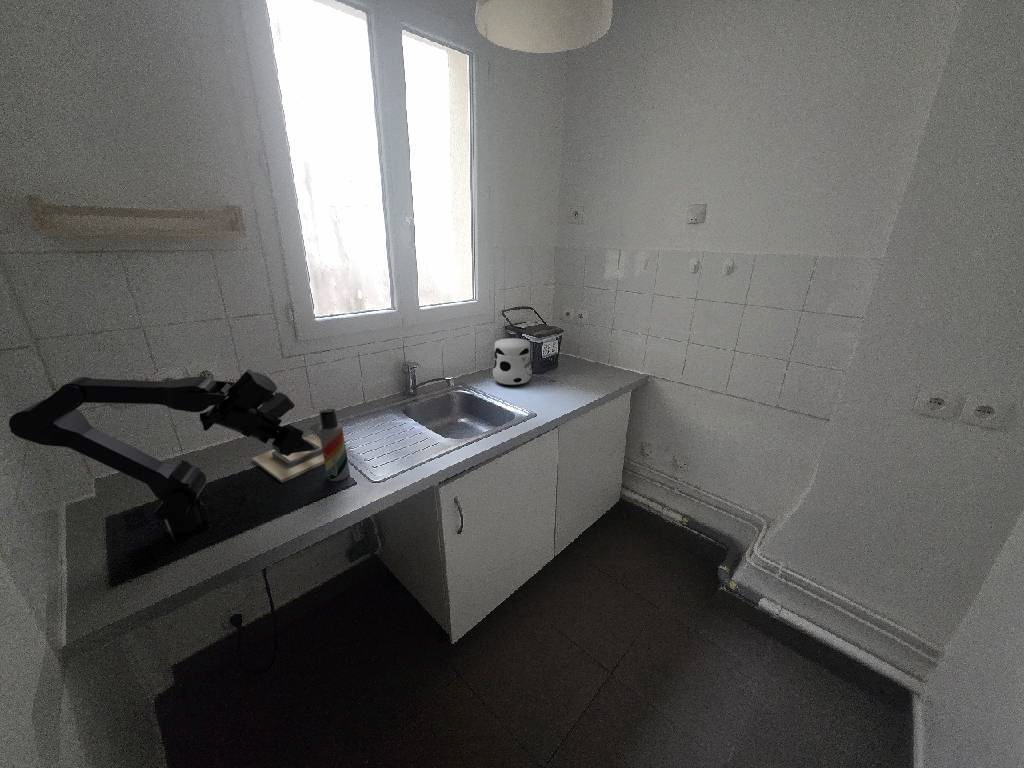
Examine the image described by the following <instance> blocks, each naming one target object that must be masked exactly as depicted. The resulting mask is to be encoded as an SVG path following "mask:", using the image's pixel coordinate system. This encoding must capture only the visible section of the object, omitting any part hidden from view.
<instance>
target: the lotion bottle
mask: <svg viewBox="0 0 1024 768" xmlns="http://www.w3.org/2000/svg"><path fill="white" fill-rule="evenodd" d="M336 411H337V410H336V409H335V408H325V409H321V410H320V411H319V418H320V424H321V425H320V426H319V427H318V436H319V439H320V440H321V446H322V451H323V456H324V461H325V463H324V466H325V470H326V475H327V478H328V480H329V481H331V482H339V480H340V481H343V480H346V477H347V478H348V477H349V476H350V473H351V472H350V465H349V458H348V453H347V448H346V447H347V446H346V441H345V435H344V429H343V425H342V424H341V423H340V422H338V416H337V413H336Z"/></svg>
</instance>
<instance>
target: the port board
mask: <svg viewBox="0 0 1024 768" xmlns="http://www.w3.org/2000/svg"><path fill="white" fill-rule="evenodd" d="M302 438H303V439H304V440H306V441H307V442H308V443H310V444H311V445H313V446H314V448H313V449H312V450H311V451H304V452H297V453H291V454H290V455H289V456H286V455H283V454H280V453H279V452H277V451H275V450H274V449H272V450H269V451H266V452H264V453H261V454H259V455H257V456H253V457H251V459H252V460H251V461H252V462H253V463H255V464H256V465H258V466H259V467H260V468H262V469H263V470H264V471H265V472H267V473H268V474H270V475H271V476H273V477H274V478H275V479H277V480H278V481H279V482H281V483H282V484H283V483H286V482H287V481H290V480H292V479H294V478H296V477H299V476H301V475H302V474H305V473H308V472H309V471H311V470H313V469H315V468H319V466H322V465H325V461H324V456H323V451H322V446H321V440H320V437H317V436H316V435H313V434H310V435H307V436H305V437H302Z"/></svg>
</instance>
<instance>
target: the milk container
mask: <svg viewBox="0 0 1024 768" xmlns="http://www.w3.org/2000/svg"><path fill="white" fill-rule="evenodd" d="M493 348H494V350H493V351H494V352H493V354H494V363H493V366H492V376H493V379H494V381H495V382H496V383H498V384H499V385H502V386H510V387H512V386H516V387H517V386H522V385H525V384H528V383H529V382H530V381H531V378H532V376H533V375H532V374H533V370H532V369H533V368H532V364H531V343H530V341H529V340H528V339H527V340H526V339H523V338H514V337H513V338H512V337H510V338H501V339H497V340H495V342H494V347H493Z"/></svg>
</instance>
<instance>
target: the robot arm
mask: <svg viewBox="0 0 1024 768" xmlns="http://www.w3.org/2000/svg"><path fill="white" fill-rule="evenodd" d="M277 387H278V386H277V385H276V383H275V382H274V381H273V380H272V379H271V378H270V377H268V376H267V375H264V374H262V373H260V372H256V371H255V372H254V371H252V370H251V369H247V370H245V372H243V374H242V375H241V376H240V377H239V378H238V379H237V380H236V381H235V382H233V381H225V380H224V381H223V380H214V379H213V378H212V377H210V376H205V375H199V376H190V377H188V376H187V377H182V378H177V379H172V380H163V381H159V380H156V381H155V380H139V379H138V380H136V379H135V380H133V379H131V380H130V379H113V378H112V379H111V378H110V379H109V378H108V379H107V378H92V377H87V376H80V377H79V376H78V377H77V378H74V379H73V380H71V381H69V382H67V383H64V384H62V386H60V387H59V389H58V390H57V391H56V392H54V393H53V394H51V395H50V396H48V397H47V398H44V399H41V400H38V401H36V402H35V403H33V404H31V405H30V406H27V407H25V408H23V409H22V410H20V411H18V412H16V413H14V414H13V415H12V416H11V417H10V419H8V420H9V421H8V426H9V428H10V433H12V434H13V435H14V436H16V438H19V439H22V440H25V441H29V442H31V443H35V444H38V445H41V446H50V447H58V448H59V447H61V448H63V447H64V448H68V449H70V450H73V451H74V452H77V453H80V454H81V455H83V456H86V457H87V458H89V459H91V460H94V461H96V462H98V463H101V464H103V465H105V466H106V467H109V468H112V469H113V470H115V471H117V472H120V473H122V474H124V475H126V476H129V477H131V478H133V479H135V480H137V481H139V482H141V483H143V484H145V485H147V486H148V488H149V489H150V491H151V493H152V494H153V495H154V496H155V498H157V499H158V500H160V501H161V503H159V505H158V507H157V508H156V509H155V510H154V512H153V516H154V517H156V519H157V520H159V521H164V522H165V524H166V526H167V528H166V531H167V533H168V534H169V535H170V536H171V538H172V539H173V541H174V542H175V543H178V542H181V541H183V540H185V539H187V538H189V537H191V536H193V535H195V534H198V533H200V532H201V531H203V530H206V529H207V528H209V527H211V523H210V522H209V520H210V516H209V514H208V513H209V512H208V510H207V508H206V506H205V504H204V502H202V501H201V500H199V495H200V494H201V492H202V491H203V489H204V488H205V486H206V485H207V476H206V474H205V473H204V472H203V471H202V470H201V469H202V468H201V467H198V466H195V465H192V464H191V463H190V462H188V461H187V460H184V459H183V460H181V461H179V463H178V464H175V463H173V464H171V463H166V462H164V461H161V460H159V459H158V458H155V457H154V456H152V455H150V454H147V453H145V452H144V451H141V450H139V449H137V448H135V447H133V446H132V445H129V444H127V443H125V442H124V441H121V440H119V439H117V438H115V437H113V436H112V435H109V434H107V433H106V432H103V431H101V430H99V429H97V428H96V427H93V426H92V425H91V423H90V422H89V420H87V418H86V416H85V415H84V413H82V411H80V410H78V408H80V406H81V405H83V404H84V403H85V404H87V403H88V404H89V403H91V404H95V403H96V404H128V405H129V404H130V405H133V404H134V405H135V404H136V405H139V404H140V405H159V406H160V405H161V406H165V407H166V408H169V409H172V410H175V411H182V412H188V413H199V421H200V423H201V425H202V428H203V429H202V430H203V431H205V432H206V431H208V430H210V428H212V427H213V426H214V425H215V424H216V426H217V425H218V426H221V427H223V428H226V429H229V430H232V431H234V432H237V433H240V434H242V436H245V437H248V438H250V437H251V438H253V439H257V440H258V441H260V443H263V444H267V443H268V441H269V440H273V442H271V446H272V450H275V451H277V452H279V453H280V454H283V455H286V456H289V455H290V454H291V453H297V452H304V451H311V450H312V449H313V448H314V446H313V445H311V444H310V443H308V442H307V441H306V440H304V439H303V438H304V437H303V435H304V431H303V429H300V428H298V427H296V426H295V425H292V424H290V423H288V424H285V425H280V424H281V423H282V421H283V420H282V419H280V418H283V416H284V415H285V414H287V413H288V412H289V411H290V410H293V409H294V408H295V406H296V405H295V403H294V401H292V400H291V399H290V397H289V396H288V395H287V394H284V393H282V392H279V391H278V388H277ZM277 391H278V392H277ZM210 407H211V408H210ZM208 408H210V409H209V410H207V409H208ZM205 410H207V411H205ZM204 411H205V412H204Z"/></svg>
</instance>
